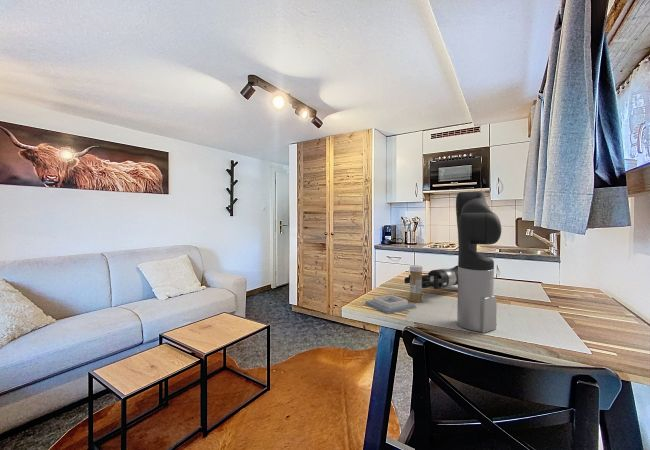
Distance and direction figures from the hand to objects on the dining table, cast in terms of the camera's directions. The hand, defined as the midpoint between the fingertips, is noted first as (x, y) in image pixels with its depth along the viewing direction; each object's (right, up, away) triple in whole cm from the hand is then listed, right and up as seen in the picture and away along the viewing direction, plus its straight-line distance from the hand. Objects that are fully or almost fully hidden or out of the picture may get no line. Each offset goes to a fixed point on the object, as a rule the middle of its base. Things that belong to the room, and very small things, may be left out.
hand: (413, 282), depth 105 cm
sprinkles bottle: (+1, -7, +1) cm, 7 cm away
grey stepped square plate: (-10, -7, -5) cm, 14 cm away
